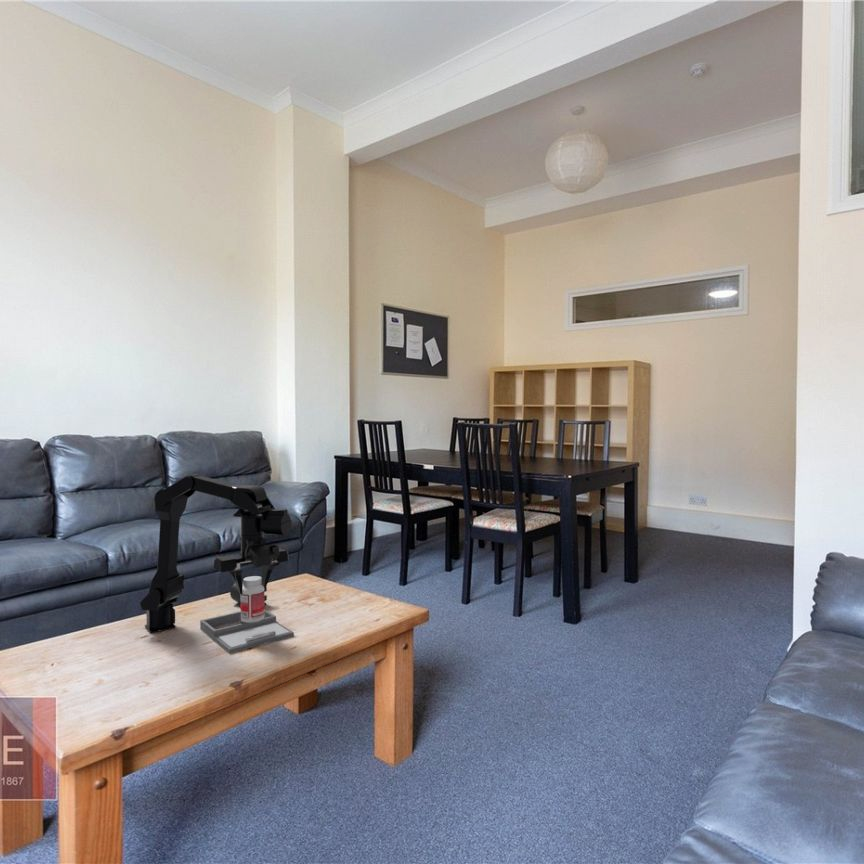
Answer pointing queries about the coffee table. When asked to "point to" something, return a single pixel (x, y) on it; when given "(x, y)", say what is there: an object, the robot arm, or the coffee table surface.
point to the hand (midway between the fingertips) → (252, 591)
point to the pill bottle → (252, 600)
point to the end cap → (236, 595)
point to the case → (209, 623)
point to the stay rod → (260, 636)
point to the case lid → (237, 638)
